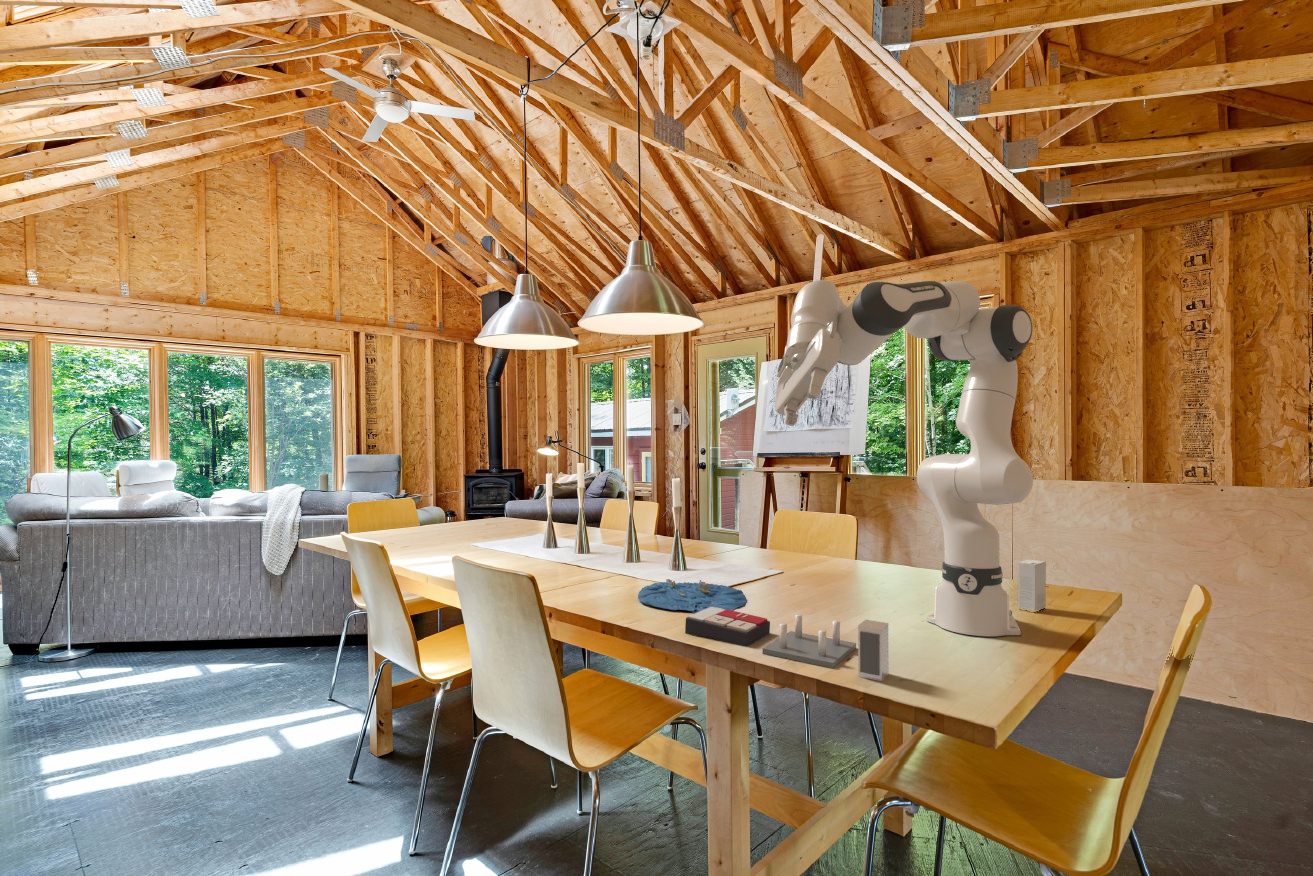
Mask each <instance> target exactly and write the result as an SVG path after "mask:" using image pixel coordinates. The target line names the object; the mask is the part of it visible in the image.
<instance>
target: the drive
mask: <svg viewBox="0 0 1313 876" xmlns="http://www.w3.org/2000/svg"><path fill="white" fill-rule="evenodd" d="M857 630H858V631H857V634H858V635H857V639H858V640H857V642H858V644H857V645H858V646H857V647H858V648H857V651H858V652H857V655H858V657H857V661H858V663H857V666H858V667H857V668H858V669H857V670H858V677H859V678H863V679H868V680H872V681H876V682H883V681H884V680H885V679H886V677H887V676H888V675H889V672H890V671H889V665H890V664H889V622H884V621H877V620H870V619H864V620H863V621H862V622H860V623H859V624H858V625H857Z"/></svg>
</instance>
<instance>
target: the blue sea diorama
mask: <svg viewBox="0 0 1313 876" xmlns="http://www.w3.org/2000/svg"><path fill="white" fill-rule="evenodd" d="M675 581H676V580H672V579H671V578H670V579H669V578H666V580H665V581H662V582H661V581H660V582H654V583H652V584H650V585H646V586H643V587H642V588H641V589H640V590H639V591H638V594H637V598H638V599H637V600H639V601H640V602H641V603H642V604H644V605H647V606H651V607H654V608H660V609H664V610H671V611H677V610H681V611H682V610H683V611H687V612H689V613H692V614H695V613H697V612H700V611H702V610H704V609H707V608H709V607H715V608H720V609H724V610H732V611H735V609H737V608H738V607H739V608H740V607H742V606H745V605H746V602H747V600H748V599H747V597H744V595H745V594H744V592H743V591H742V590H741V589H737V588H734V587H729V586H727V585H722V584H720V585H718V584H714V583H708V582H706V581H702V580H700V579H699V581H698V582H675Z"/></svg>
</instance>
